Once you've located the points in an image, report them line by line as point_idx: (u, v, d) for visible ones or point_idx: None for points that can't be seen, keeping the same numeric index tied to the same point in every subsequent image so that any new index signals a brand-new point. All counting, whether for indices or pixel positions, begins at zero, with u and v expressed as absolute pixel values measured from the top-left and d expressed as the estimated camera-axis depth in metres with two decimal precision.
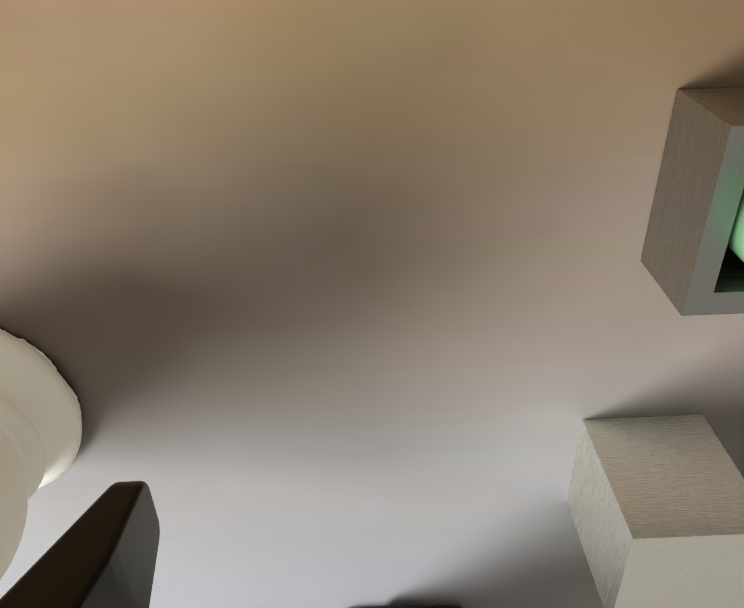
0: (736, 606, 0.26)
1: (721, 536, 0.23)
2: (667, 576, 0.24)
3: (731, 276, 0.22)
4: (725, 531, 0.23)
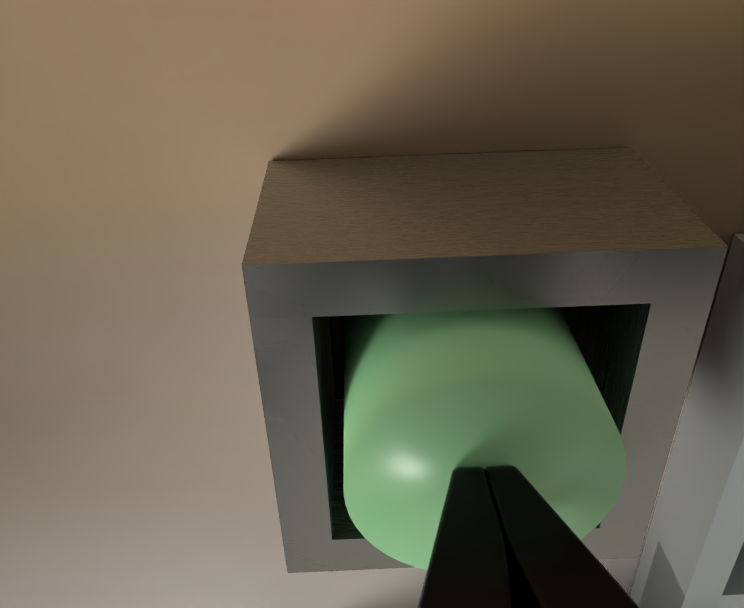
0: None
1: None
2: None
3: None
4: None
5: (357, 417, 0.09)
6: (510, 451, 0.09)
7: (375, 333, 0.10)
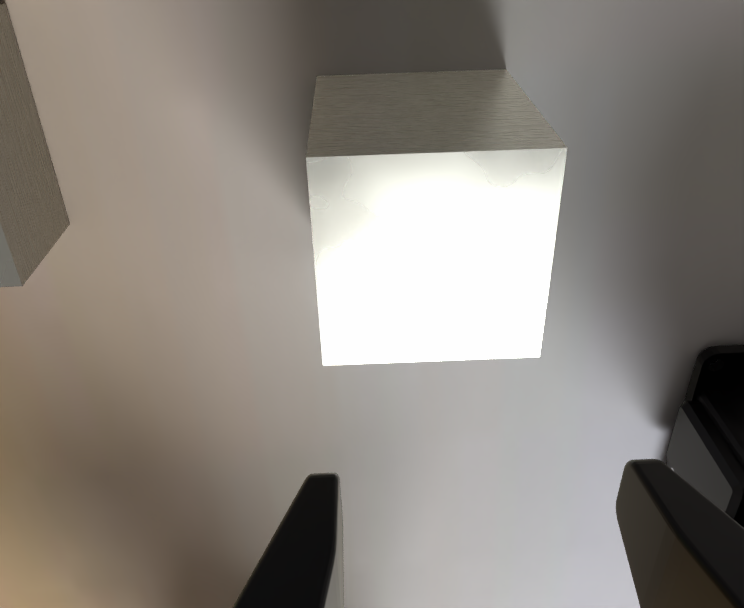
0: (521, 166, 0.13)
1: (317, 248, 0.14)
2: (416, 302, 0.15)
3: None
4: (313, 238, 0.14)
5: None
6: None
7: None
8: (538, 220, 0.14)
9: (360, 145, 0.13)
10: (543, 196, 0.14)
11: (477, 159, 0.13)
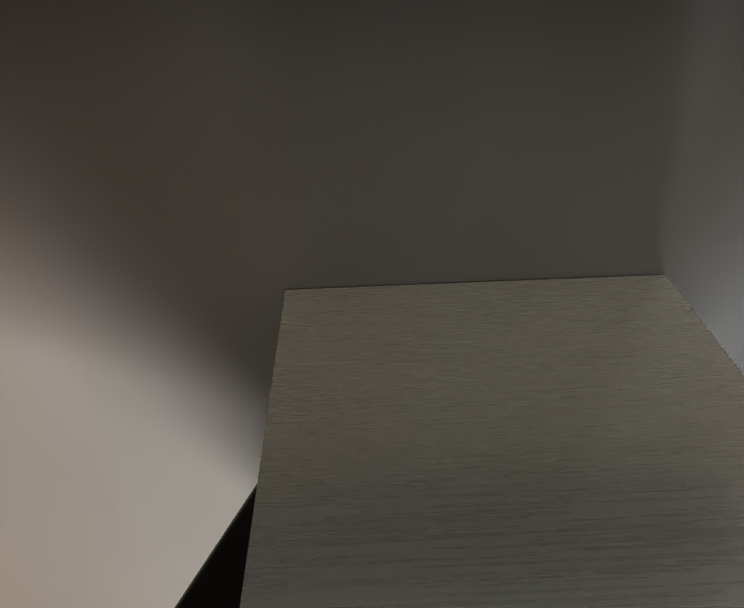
0: None
1: None
2: None
3: None
4: None
5: None
6: None
7: None
8: None
9: None
10: None
11: None
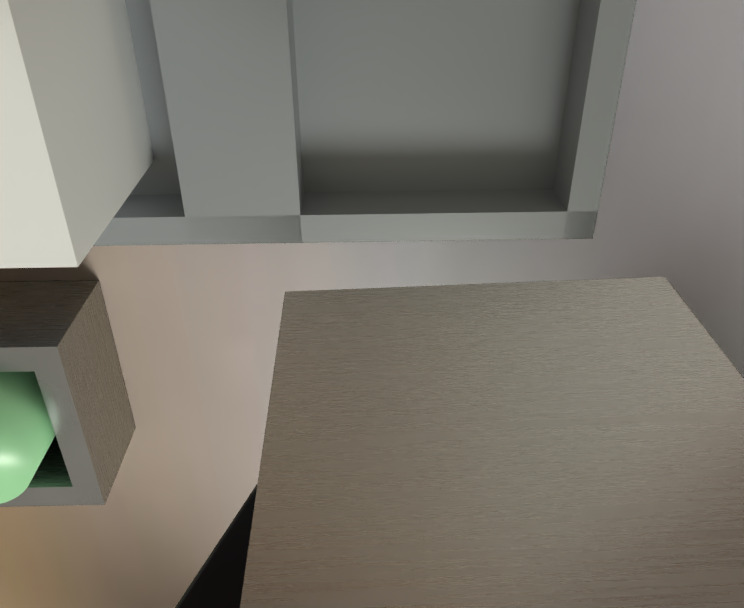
0: None
1: None
2: None
3: None
4: None
5: None
6: None
7: None
8: None
9: None
10: None
11: None
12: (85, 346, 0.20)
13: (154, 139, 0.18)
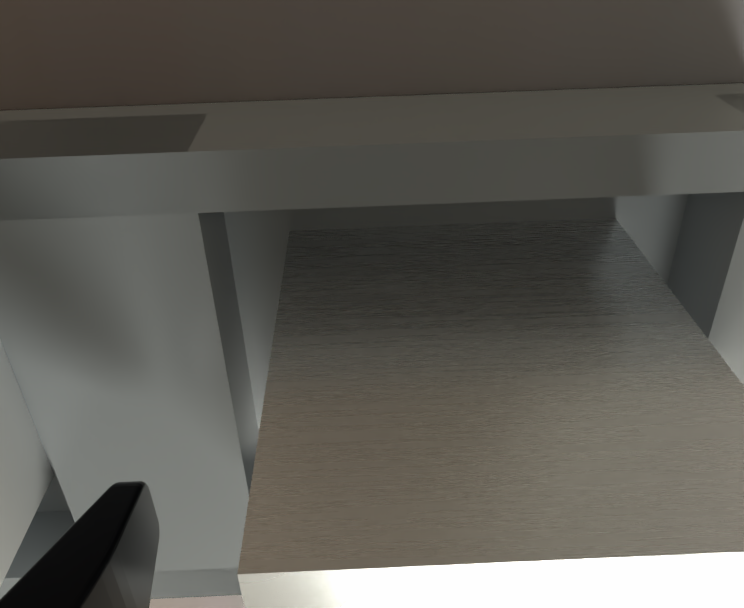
0: None
1: None
2: None
3: None
4: None
5: None
6: None
7: None
8: None
9: (367, 516, 0.06)
10: None
11: (648, 569, 0.06)
12: None
13: None
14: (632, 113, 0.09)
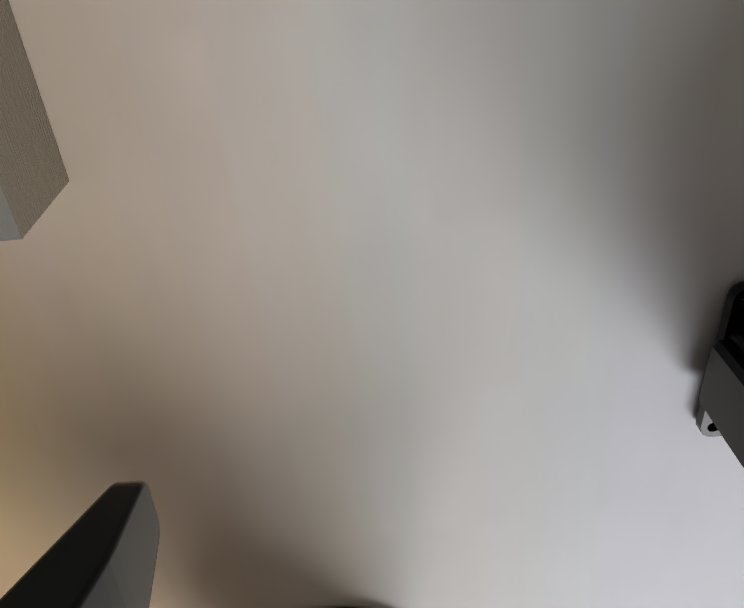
0: None
1: None
2: None
3: None
4: None
5: None
6: None
7: None
8: None
9: None
10: None
11: None
12: None
13: None
14: None
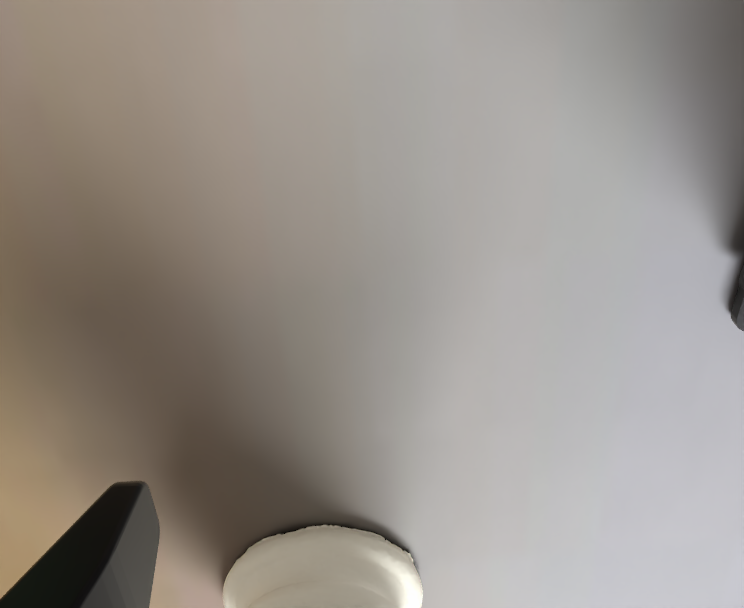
0: None
1: None
2: None
3: None
4: None
5: None
6: None
7: None
8: None
9: None
10: None
11: None
12: None
13: None
14: None
